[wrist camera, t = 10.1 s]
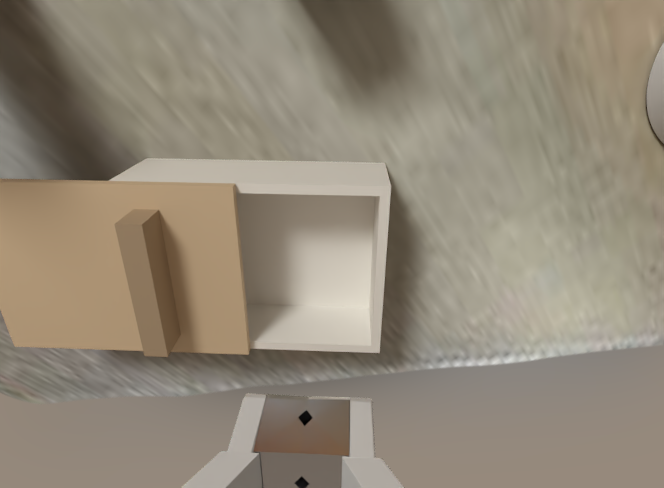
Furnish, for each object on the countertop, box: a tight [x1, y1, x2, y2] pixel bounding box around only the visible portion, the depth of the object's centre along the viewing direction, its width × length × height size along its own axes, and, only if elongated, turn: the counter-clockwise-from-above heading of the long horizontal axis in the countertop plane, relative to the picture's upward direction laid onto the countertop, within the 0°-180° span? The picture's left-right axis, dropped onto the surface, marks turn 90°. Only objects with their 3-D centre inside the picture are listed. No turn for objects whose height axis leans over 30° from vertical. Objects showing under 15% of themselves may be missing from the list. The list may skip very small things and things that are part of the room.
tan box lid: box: [0, 179, 251, 357], centre depth 35 cm, size 22×16×4 cm
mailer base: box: [109, 158, 391, 353], centre depth 40 cm, size 22×16×7 cm
